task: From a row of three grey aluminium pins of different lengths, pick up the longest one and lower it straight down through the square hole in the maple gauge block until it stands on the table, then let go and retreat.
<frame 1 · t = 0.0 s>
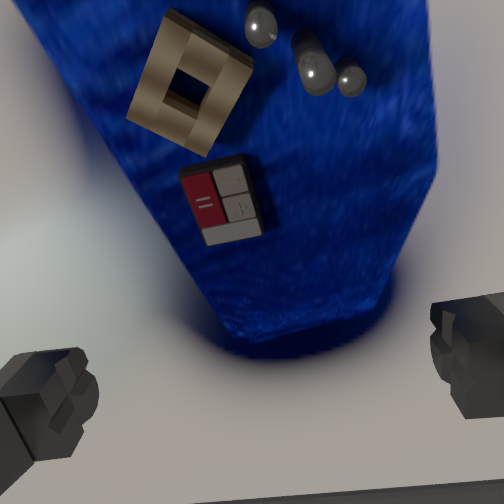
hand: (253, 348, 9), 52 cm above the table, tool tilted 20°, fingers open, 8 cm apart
long pin: (304, 43, 52), on the table
gauge block: (190, 82, 55), on the table
medium pin: (258, 13, 50), on the table
calculator: (224, 195, 69), on the table
short pin: (345, 70, 55), on the table
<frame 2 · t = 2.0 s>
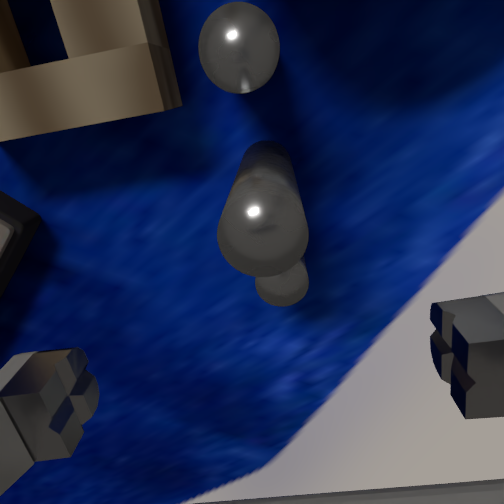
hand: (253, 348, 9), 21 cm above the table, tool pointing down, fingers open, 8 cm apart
long pin: (266, 165, 28), on the table
gauge block: (55, 27, 25), on the table
medium pin: (249, 59, 26), on the table
short pin: (280, 253, 31), on the table
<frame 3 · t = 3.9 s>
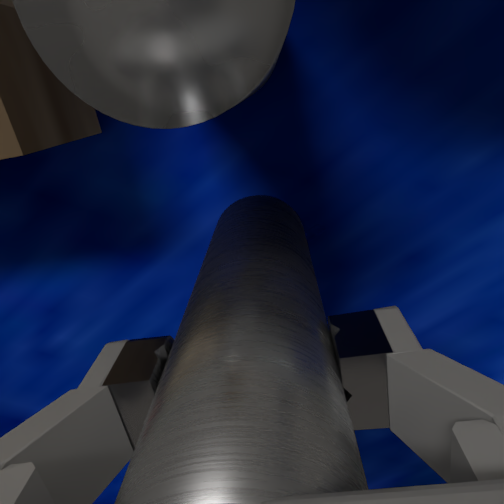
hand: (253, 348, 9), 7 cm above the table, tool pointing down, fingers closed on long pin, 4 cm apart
long pin: (259, 239, 16), on the table, touching gripper
medium pin: (225, 44, 13), on the table
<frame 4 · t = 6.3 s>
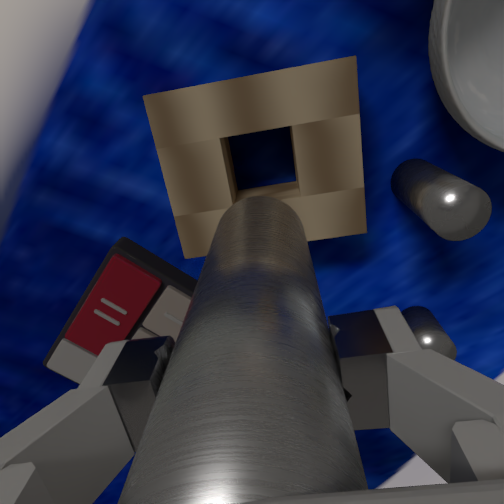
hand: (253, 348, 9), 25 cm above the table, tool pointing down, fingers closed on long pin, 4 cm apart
long pin: (260, 239, 16), point 18 cm above the table, touching gripper
gauge block: (262, 156, 32), on the table
medium pin: (412, 180, 33), on the table
calculator: (139, 318, 40), on the table
short pin: (414, 322, 38), on the table
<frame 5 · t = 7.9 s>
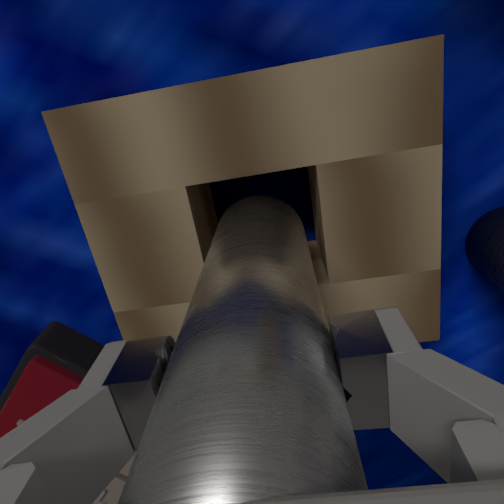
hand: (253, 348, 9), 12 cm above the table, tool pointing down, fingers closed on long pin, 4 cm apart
long pin: (260, 238, 16), point 5 cm above the table, touching gripper
gauge block: (262, 202, 20), on the table
medium pin: (500, 239, 21), on the table
calculator: (88, 424, 28), on the table
when the fingers open (8 cm above the table, at t = 9.1 s): long pin stays where it is, resting in gauge block.
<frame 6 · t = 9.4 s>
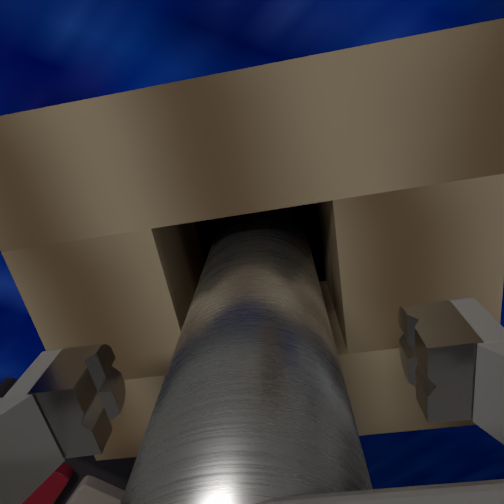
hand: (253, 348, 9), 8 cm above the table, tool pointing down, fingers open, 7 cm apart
long pin: (261, 235, 16), resting in gauge block
gauge block: (258, 235, 16), on the table
calculator: (57, 489, 24), on the table
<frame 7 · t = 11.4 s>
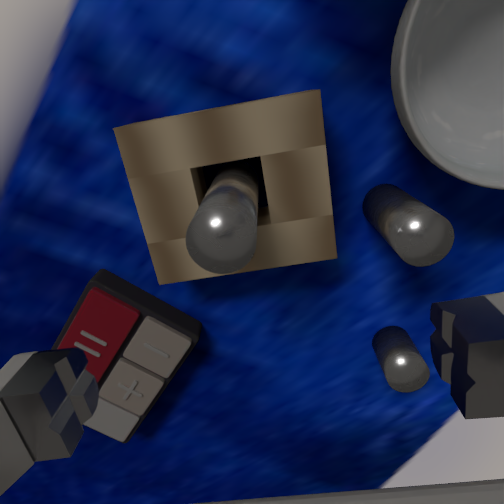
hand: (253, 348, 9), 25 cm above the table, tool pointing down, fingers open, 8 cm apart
long pin: (237, 182, 33), resting in gauge block
gauge block: (235, 182, 33), on the table
cereal bowl: (485, 57, 29), on the table
medium pin: (383, 204, 33), on the table
calculator: (121, 346, 40), on the table
short pin: (390, 341, 38), on the table
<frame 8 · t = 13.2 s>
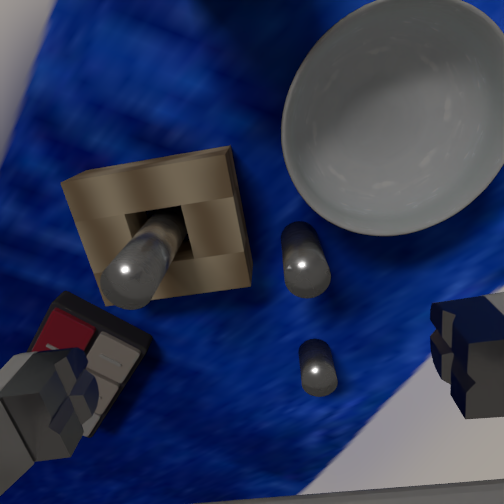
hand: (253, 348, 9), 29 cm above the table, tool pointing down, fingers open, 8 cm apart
long pin: (173, 219, 39), resting in gauge block
gauge block: (172, 218, 39), on the table
cereal bowl: (374, 119, 35), on the table
medium pin: (298, 238, 39), on the table
calculator: (86, 355, 47), on the table
short pin: (314, 352, 45), on the table
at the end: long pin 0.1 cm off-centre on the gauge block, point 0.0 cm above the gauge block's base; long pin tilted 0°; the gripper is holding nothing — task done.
